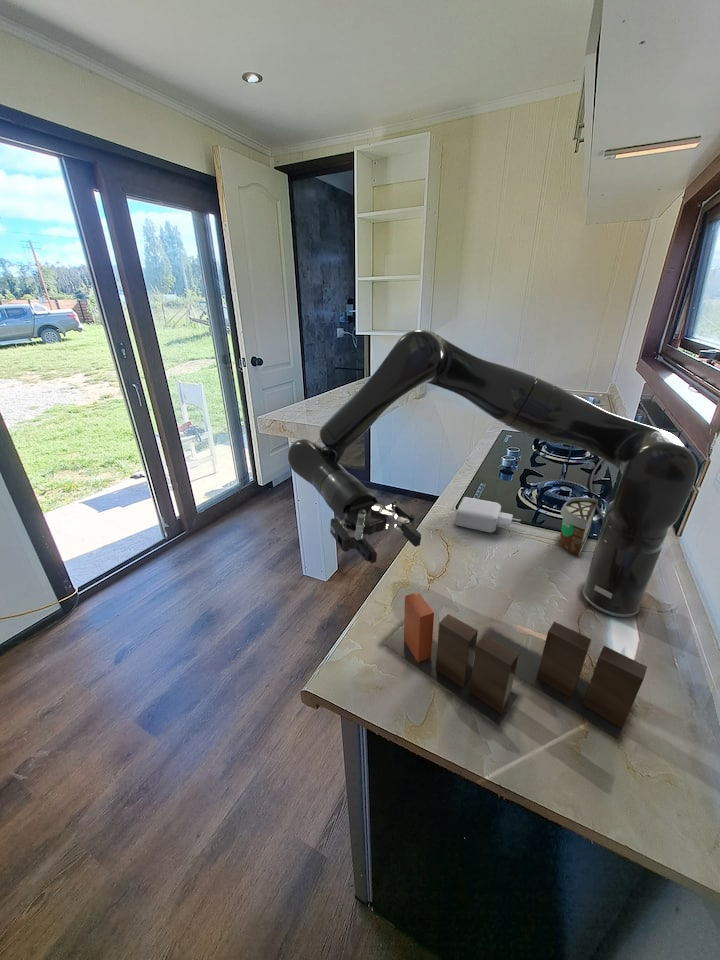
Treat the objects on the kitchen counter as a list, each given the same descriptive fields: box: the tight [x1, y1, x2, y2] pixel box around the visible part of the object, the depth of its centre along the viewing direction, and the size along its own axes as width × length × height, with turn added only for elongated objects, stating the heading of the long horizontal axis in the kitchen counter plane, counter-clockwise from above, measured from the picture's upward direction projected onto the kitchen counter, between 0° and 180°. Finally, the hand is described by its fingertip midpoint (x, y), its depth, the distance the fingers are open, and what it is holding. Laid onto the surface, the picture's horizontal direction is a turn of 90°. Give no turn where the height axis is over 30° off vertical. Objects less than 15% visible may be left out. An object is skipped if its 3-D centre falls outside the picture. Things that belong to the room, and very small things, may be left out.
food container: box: [559, 496, 599, 557], centre depth 89 cm, size 12×6×10 cm, turn 141°
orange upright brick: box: [403, 591, 435, 662], centre depth 63 cm, size 2×5×10 cm, turn 22°
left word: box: [383, 613, 519, 727], centre depth 59 cm, size 6×21×10 cm, turn 47°
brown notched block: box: [486, 621, 648, 741], centre depth 57 cm, size 6×21×10 cm, turn 47°
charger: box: [455, 496, 522, 534], centre depth 98 cm, size 5×9×15 cm
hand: (397, 550), depth 60 cm, fingers open, 8 cm apart
